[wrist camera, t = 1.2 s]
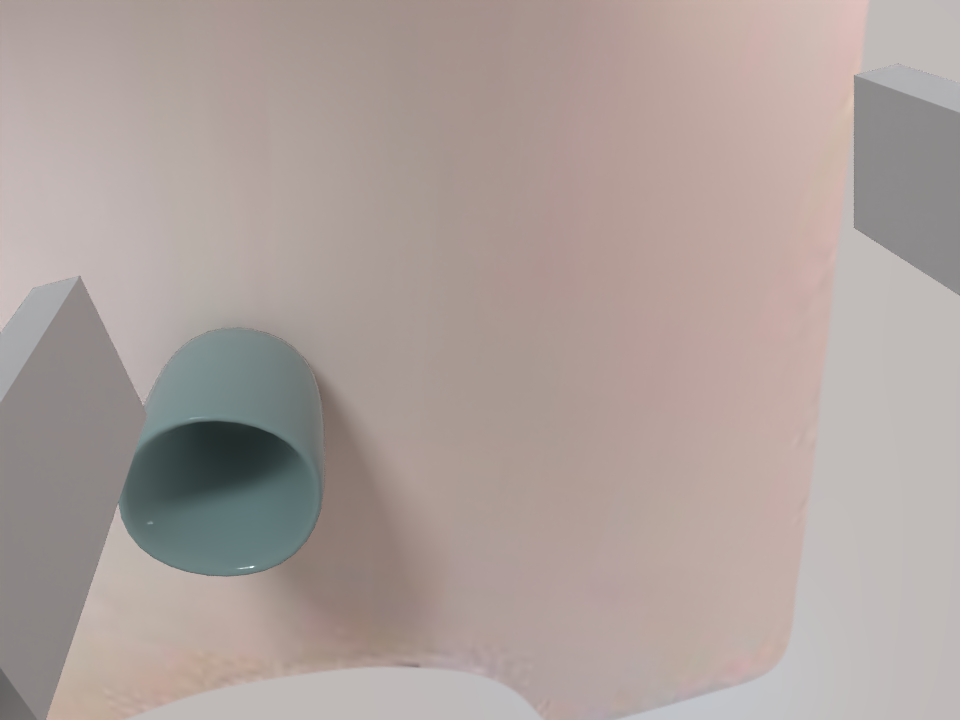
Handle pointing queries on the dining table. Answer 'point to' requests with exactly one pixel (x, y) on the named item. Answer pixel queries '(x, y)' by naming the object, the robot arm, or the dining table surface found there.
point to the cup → (228, 456)
